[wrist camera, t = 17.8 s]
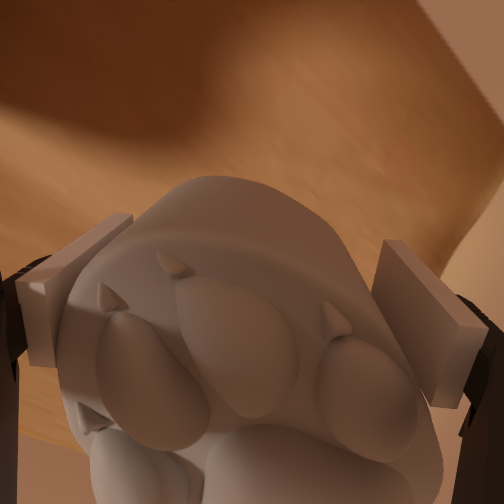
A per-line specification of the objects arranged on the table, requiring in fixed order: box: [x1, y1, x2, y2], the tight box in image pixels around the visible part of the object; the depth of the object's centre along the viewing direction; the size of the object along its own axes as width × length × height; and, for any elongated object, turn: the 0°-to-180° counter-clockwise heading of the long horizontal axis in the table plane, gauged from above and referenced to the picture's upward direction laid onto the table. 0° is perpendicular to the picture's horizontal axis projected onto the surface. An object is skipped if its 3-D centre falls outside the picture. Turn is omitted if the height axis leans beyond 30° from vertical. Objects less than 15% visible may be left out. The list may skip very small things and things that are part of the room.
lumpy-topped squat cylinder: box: [56, 176, 444, 504], centre depth 13 cm, size 10×13×9 cm
